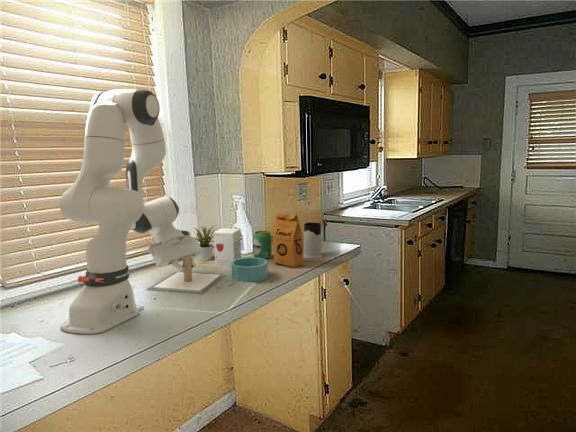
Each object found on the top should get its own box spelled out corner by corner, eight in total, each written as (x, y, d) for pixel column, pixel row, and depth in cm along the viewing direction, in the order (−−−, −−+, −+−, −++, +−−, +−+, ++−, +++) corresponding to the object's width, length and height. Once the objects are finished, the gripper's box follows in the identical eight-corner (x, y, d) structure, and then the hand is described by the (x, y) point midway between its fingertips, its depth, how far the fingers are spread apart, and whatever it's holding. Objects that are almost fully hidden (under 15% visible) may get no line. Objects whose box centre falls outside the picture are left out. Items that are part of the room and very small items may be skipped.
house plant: (227, 255, 197) (226, 220, 194) (219, 263, 183) (218, 226, 180) (197, 254, 198) (196, 220, 195) (188, 262, 184) (186, 226, 182)
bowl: (261, 283, 155) (261, 268, 154) (226, 281, 158) (225, 266, 157) (271, 272, 168) (271, 258, 167) (238, 270, 171) (238, 256, 170)
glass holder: (299, 256, 192) (299, 224, 190) (314, 250, 204) (314, 219, 201) (316, 259, 187) (316, 226, 185) (330, 252, 199) (331, 221, 196)
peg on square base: (200, 291, 145) (198, 265, 144) (153, 288, 150) (151, 262, 148) (220, 276, 163) (219, 252, 161) (177, 273, 167) (176, 250, 165)
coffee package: (292, 269, 172) (292, 217, 168) (270, 264, 180) (269, 214, 176) (307, 264, 180) (307, 213, 176) (285, 259, 188) (284, 211, 184)
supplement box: (214, 266, 179) (213, 231, 176) (222, 260, 187) (221, 227, 185) (234, 267, 177) (233, 232, 174) (241, 261, 185) (240, 228, 183)
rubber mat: (203, 295, 143) (203, 294, 143) (145, 291, 148) (145, 290, 148) (226, 276, 164) (226, 275, 164) (175, 273, 169) (175, 271, 169)
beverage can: (250, 258, 191) (249, 232, 189) (264, 254, 196) (263, 229, 194) (261, 261, 185) (260, 234, 183) (275, 258, 190) (274, 232, 188)
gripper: (150, 240, 148) (170, 271, 145) (192, 230, 165) (211, 257, 162) (142, 251, 152) (162, 281, 148) (185, 240, 168) (204, 267, 165)
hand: (188, 269), depth 155 cm, fingers open, 4 cm apart
